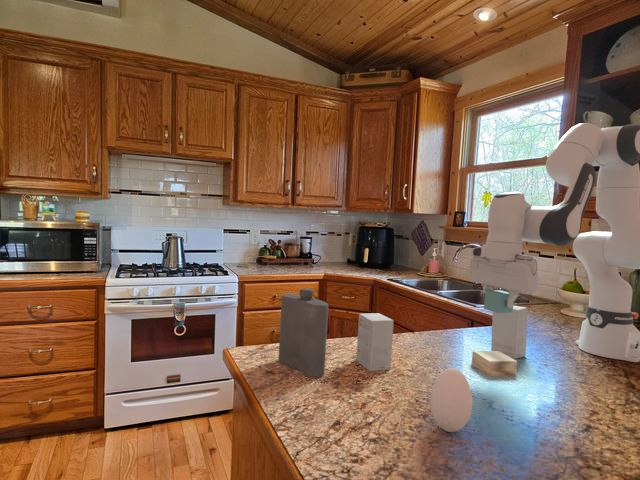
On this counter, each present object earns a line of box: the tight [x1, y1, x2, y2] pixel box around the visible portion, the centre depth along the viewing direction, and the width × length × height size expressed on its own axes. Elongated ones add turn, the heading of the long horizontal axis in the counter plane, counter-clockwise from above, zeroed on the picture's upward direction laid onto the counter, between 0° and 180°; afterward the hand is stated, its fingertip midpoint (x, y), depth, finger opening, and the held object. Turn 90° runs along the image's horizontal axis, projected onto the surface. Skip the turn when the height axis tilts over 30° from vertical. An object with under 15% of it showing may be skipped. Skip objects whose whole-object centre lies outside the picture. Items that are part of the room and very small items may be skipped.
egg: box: [429, 367, 473, 433], centre depth 75 cm, size 7×7×12 cm
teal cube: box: [483, 289, 513, 313], centre depth 108 cm, size 5×5×5 cm
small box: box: [355, 312, 395, 372], centre depth 106 cm, size 8×6×13 cm
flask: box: [277, 287, 329, 379], centre depth 101 cm, size 15×6×20 cm, turn 44°
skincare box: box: [490, 305, 528, 360], centre depth 122 cm, size 8×6×15 cm
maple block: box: [471, 350, 518, 376], centre depth 109 cm, size 8×8×4 cm
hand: (498, 304), depth 108 cm, fingers closed on teal cube, 5 cm apart
